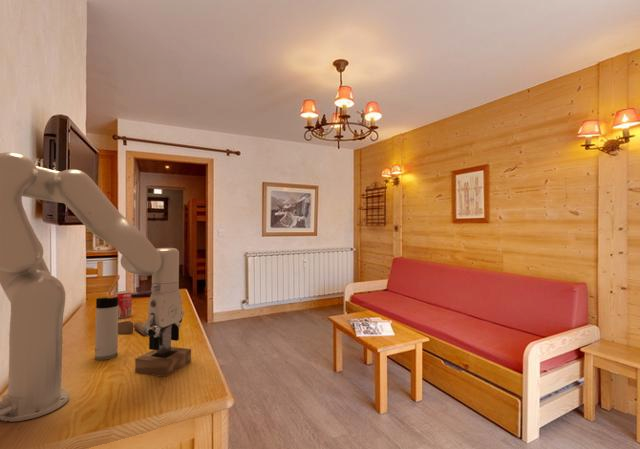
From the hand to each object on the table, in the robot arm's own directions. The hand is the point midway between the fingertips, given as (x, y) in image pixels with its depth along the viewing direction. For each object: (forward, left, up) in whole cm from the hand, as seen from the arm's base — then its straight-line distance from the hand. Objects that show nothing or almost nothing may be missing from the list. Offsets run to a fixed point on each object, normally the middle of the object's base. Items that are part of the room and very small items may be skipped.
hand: (164, 344), depth 99 cm
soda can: (+40, +59, -7) cm, 72 cm away
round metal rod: (0, 0, -7) cm, 7 cm away
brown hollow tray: (0, 0, -7) cm, 7 cm away
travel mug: (+1, +24, -7) cm, 25 cm away
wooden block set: (+23, +30, -8) cm, 39 cm away
